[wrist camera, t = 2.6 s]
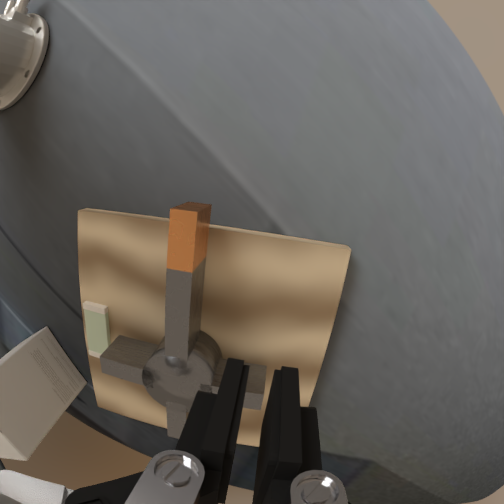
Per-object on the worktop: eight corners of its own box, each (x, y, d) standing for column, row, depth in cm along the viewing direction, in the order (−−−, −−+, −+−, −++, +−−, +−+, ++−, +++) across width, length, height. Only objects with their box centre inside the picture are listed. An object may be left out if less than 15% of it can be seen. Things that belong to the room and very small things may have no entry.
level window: (86, 300, 28) (82, 303, 27) (107, 306, 27) (104, 309, 27) (92, 351, 29) (89, 354, 29) (112, 358, 29) (109, 361, 28)
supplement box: (18, 342, 33) (-49, 398, 18) (48, 324, 31) (-33, 389, 17) (55, 394, 35) (0, 459, 20) (89, 384, 33) (27, 462, 18)
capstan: (123, 192, 24) (91, 199, 20) (293, 215, 23) (296, 226, 19) (128, 390, 30) (110, 418, 25) (255, 419, 29) (250, 452, 24)
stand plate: (86, 207, 27) (76, 210, 25) (347, 245, 25) (351, 250, 24) (102, 399, 33) (97, 407, 31) (292, 441, 32) (292, 451, 30)
